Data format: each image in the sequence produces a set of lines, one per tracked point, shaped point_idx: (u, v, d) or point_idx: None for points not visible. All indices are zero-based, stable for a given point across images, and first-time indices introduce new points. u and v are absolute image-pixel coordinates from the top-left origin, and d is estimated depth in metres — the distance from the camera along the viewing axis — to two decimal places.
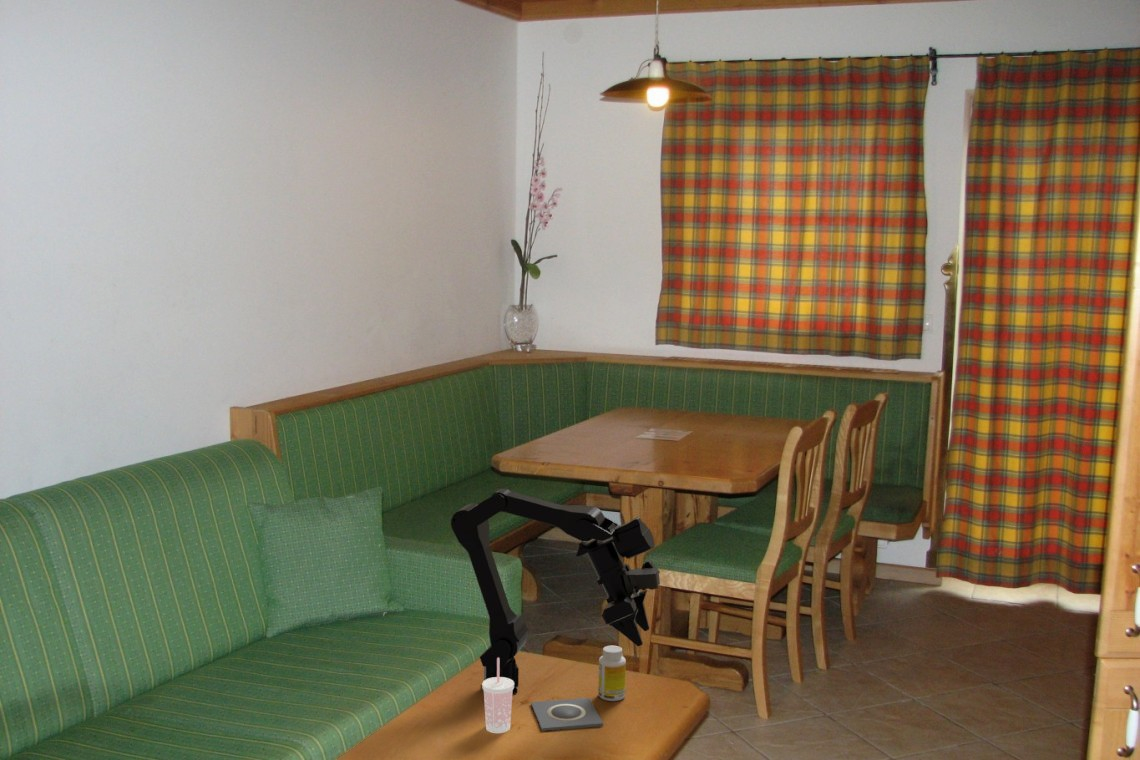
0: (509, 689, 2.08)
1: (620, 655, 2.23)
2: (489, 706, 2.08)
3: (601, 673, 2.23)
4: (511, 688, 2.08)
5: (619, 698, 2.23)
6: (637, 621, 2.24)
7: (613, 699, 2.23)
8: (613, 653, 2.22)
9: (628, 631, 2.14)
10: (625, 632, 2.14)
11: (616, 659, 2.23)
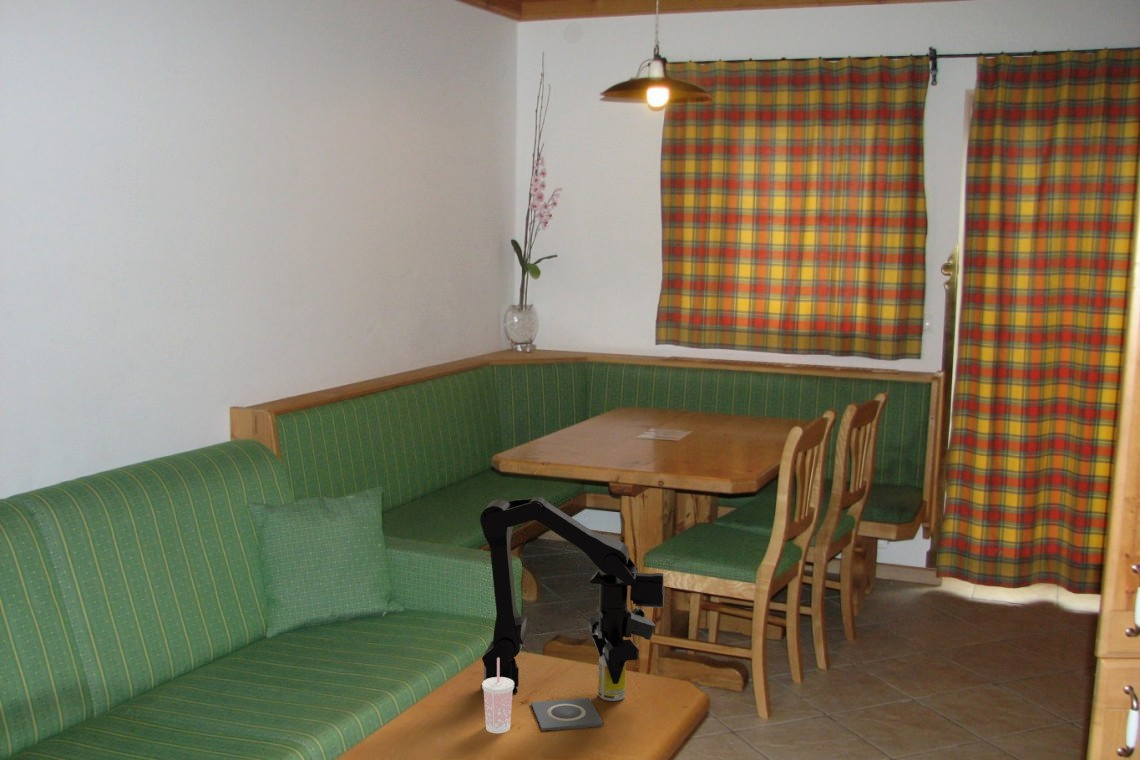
0: (509, 689, 2.08)
1: None
2: (489, 706, 2.08)
3: (601, 673, 2.23)
4: (511, 688, 2.08)
5: (619, 698, 2.23)
6: None
7: (613, 699, 2.23)
8: None
9: (614, 668, 2.20)
10: (611, 668, 2.20)
11: None
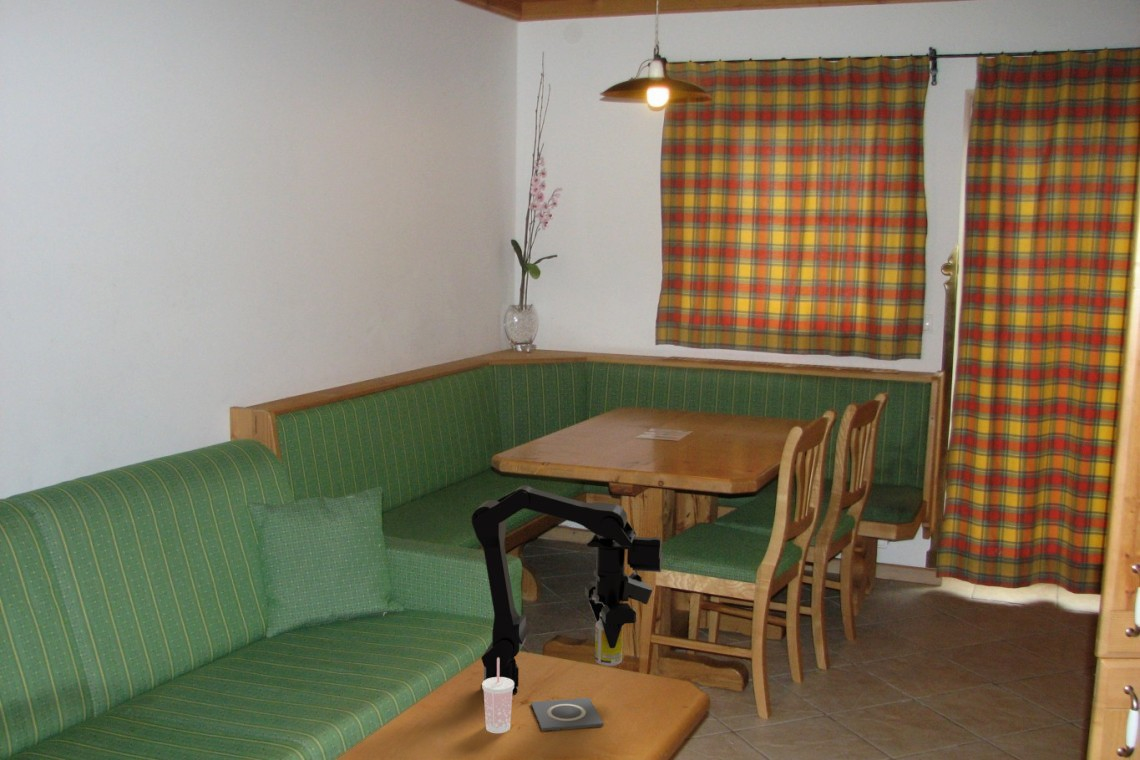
0: (509, 689, 2.08)
1: None
2: (489, 706, 2.08)
3: (598, 638, 2.22)
4: (511, 688, 2.08)
5: (616, 663, 2.22)
6: None
7: (610, 663, 2.21)
8: None
9: (611, 632, 2.19)
10: (608, 632, 2.19)
11: None
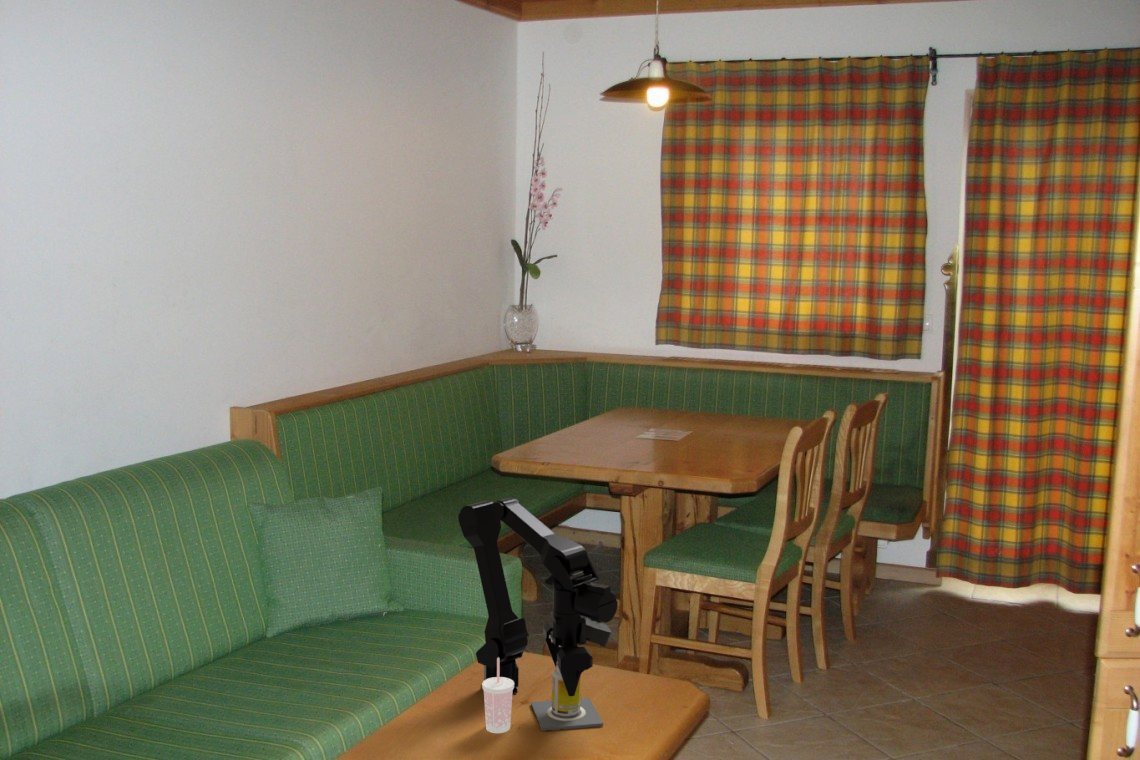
0: (509, 689, 2.08)
1: None
2: (489, 706, 2.08)
3: (554, 688, 2.14)
4: (511, 688, 2.08)
5: (573, 713, 2.14)
6: None
7: (567, 714, 2.14)
8: None
9: (569, 680, 2.10)
10: (566, 680, 2.09)
11: None
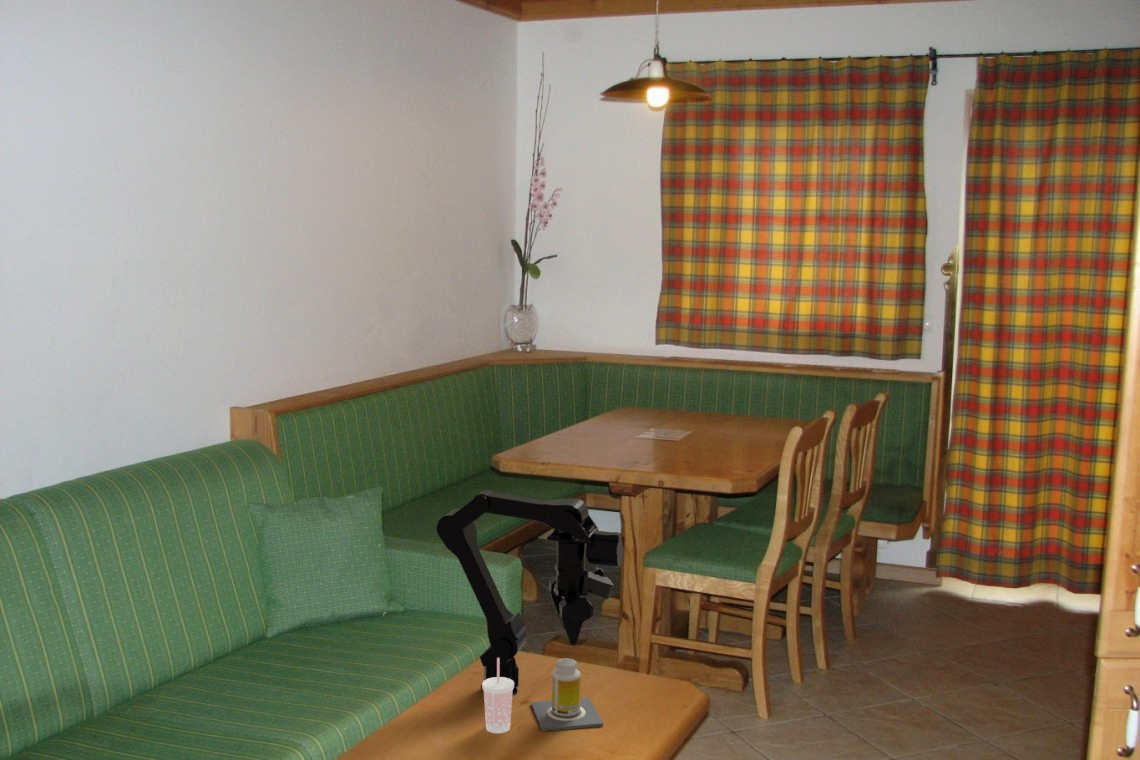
0: (509, 689, 2.08)
1: (574, 668, 2.14)
2: (489, 706, 2.08)
3: (554, 688, 2.14)
4: (511, 688, 2.08)
5: (573, 713, 2.14)
6: (561, 617, 2.27)
7: (567, 714, 2.14)
8: (567, 666, 2.13)
9: (571, 629, 2.17)
10: (568, 629, 2.17)
11: (570, 673, 2.14)
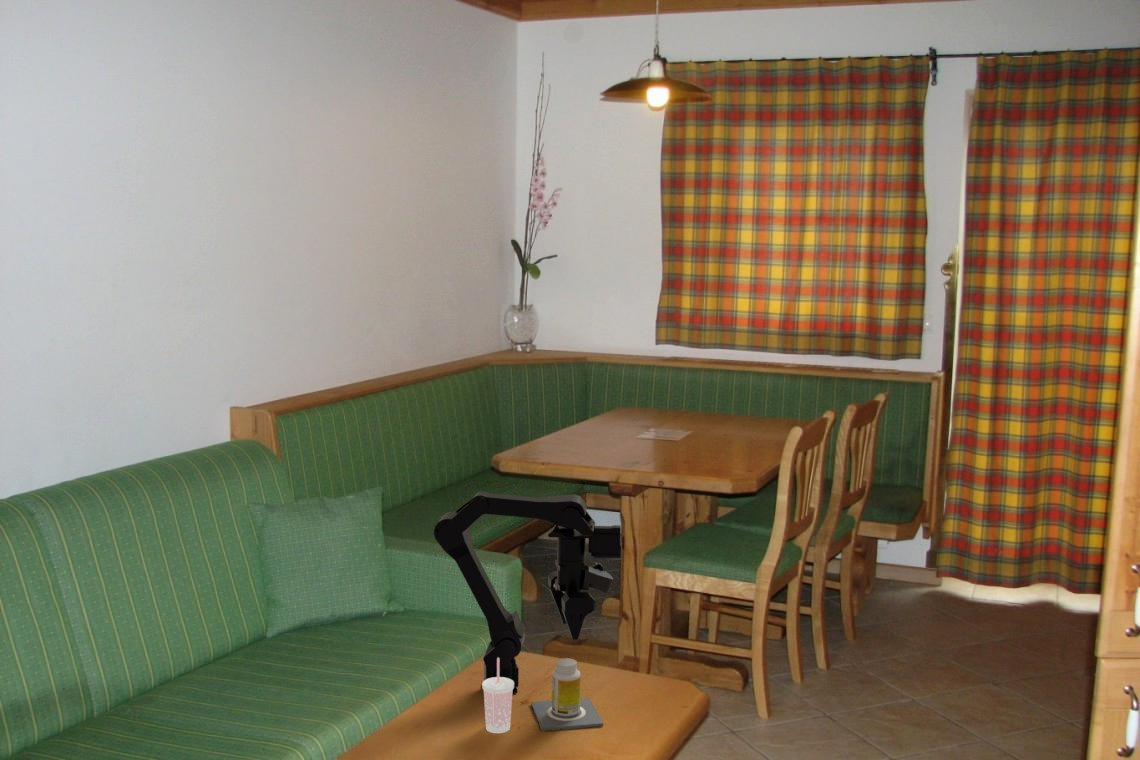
0: (509, 689, 2.08)
1: (574, 668, 2.14)
2: (488, 706, 2.08)
3: (554, 688, 2.14)
4: (511, 688, 2.08)
5: (573, 713, 2.14)
6: (561, 612, 2.30)
7: (567, 714, 2.14)
8: (567, 666, 2.13)
9: (573, 624, 2.20)
10: (571, 624, 2.20)
11: (570, 673, 2.14)
